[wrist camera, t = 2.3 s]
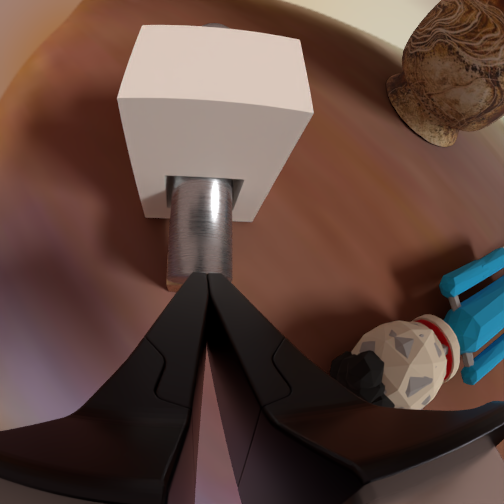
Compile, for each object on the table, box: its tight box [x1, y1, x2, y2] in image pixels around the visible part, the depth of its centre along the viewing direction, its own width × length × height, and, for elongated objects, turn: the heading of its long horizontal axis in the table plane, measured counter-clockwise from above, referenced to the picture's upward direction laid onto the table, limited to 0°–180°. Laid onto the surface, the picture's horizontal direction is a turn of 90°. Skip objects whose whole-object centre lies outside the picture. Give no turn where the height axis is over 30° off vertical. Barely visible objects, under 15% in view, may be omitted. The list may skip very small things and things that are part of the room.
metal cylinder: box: [166, 23, 232, 292], centre depth 17 cm, size 16×3×5 cm, turn 1°
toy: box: [330, 246, 504, 410], centre depth 19 cm, size 8×6×30 cm
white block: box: [117, 25, 314, 222], centre depth 14 cm, size 4×6×10 cm, turn 91°
